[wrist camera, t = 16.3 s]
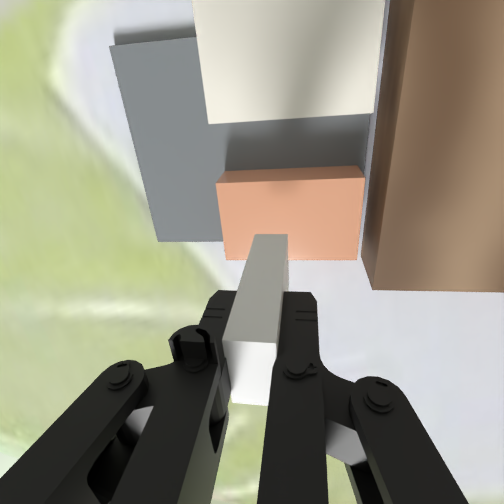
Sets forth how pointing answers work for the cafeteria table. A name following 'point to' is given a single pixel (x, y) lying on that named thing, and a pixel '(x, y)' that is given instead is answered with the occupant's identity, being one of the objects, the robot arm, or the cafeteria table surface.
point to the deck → (439, 150)
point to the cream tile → (288, 57)
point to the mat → (210, 138)
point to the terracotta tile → (293, 210)
